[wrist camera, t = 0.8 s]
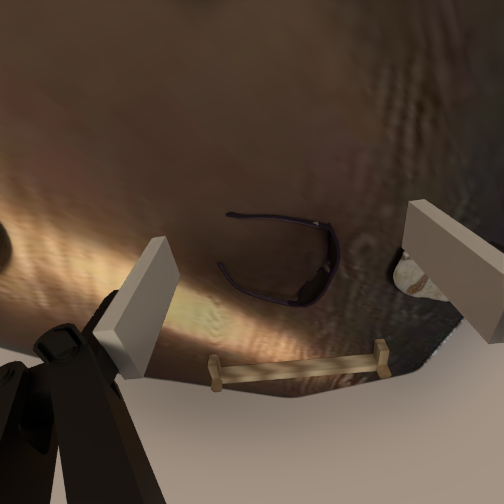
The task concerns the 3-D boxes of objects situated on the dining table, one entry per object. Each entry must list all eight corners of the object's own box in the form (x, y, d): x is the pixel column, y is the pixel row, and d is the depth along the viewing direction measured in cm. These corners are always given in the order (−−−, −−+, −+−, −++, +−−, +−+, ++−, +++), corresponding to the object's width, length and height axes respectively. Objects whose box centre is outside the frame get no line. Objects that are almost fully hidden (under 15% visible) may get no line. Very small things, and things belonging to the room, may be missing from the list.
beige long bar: (214, 373, 55) (212, 392, 51) (208, 354, 52) (205, 374, 48) (381, 358, 52) (390, 378, 49) (384, 338, 49) (394, 357, 46)
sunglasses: (312, 292, 44) (318, 315, 40) (215, 277, 42) (211, 299, 38) (343, 216, 37) (355, 234, 33) (227, 195, 35) (224, 211, 31)
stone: (378, 283, 42) (387, 296, 39) (406, 229, 37) (419, 240, 35) (449, 296, 43) (463, 310, 40) (484, 246, 39) (503, 257, 36)
